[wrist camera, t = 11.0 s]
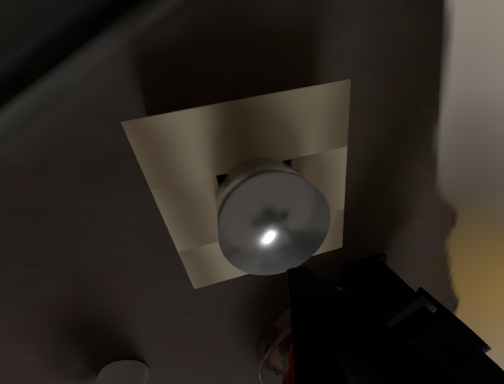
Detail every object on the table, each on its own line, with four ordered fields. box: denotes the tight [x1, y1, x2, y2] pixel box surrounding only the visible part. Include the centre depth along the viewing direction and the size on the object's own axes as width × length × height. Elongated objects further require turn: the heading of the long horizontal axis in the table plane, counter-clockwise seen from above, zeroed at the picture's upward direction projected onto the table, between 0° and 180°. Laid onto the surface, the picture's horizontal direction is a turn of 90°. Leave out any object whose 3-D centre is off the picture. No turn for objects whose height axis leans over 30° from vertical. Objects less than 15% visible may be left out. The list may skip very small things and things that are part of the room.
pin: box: [216, 157, 331, 275], centre depth 15 cm, size 7×7×9 cm
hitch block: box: [121, 79, 351, 289], centre depth 17 cm, size 14×14×5 cm
